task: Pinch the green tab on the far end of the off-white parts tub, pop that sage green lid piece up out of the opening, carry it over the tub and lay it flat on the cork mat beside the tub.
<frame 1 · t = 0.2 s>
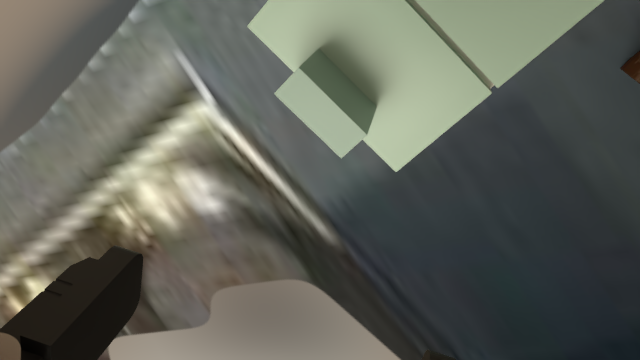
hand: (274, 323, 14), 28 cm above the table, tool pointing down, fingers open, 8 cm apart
lid piece: (370, 52, 31), point 6 cm above the table, touching parts tub
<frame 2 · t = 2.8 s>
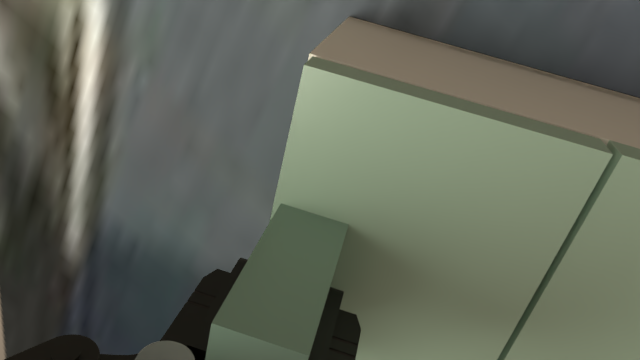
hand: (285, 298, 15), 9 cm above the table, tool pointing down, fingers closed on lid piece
parts tub: (487, 215, 22), on the table
lid piece: (384, 273, 17), point 6 cm above the table, touching gripper
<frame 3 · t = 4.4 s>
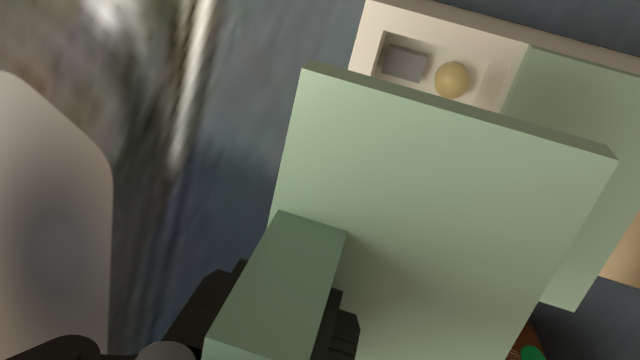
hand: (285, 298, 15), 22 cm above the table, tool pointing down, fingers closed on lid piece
parts tub: (469, 120, 33), on the table
lid piece: (383, 279, 16), point 19 cm above the table, touching gripper
food container: (513, 348, 40), on the table
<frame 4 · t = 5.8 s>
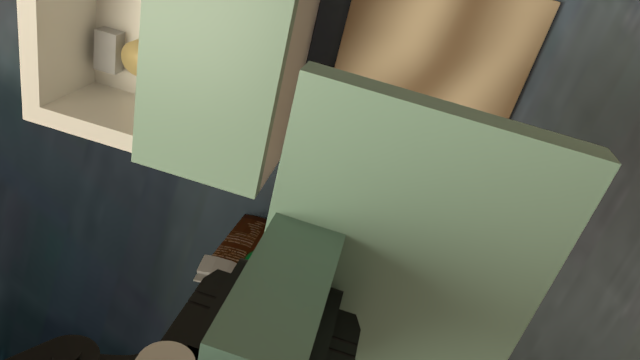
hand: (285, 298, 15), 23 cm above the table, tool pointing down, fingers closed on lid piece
parts tub: (195, 33, 35), on the table
cork mat: (418, 98, 34), on the table
lid piece: (382, 283, 16), point 20 cm above the table, touching gripper
food container: (285, 263, 43), on the table
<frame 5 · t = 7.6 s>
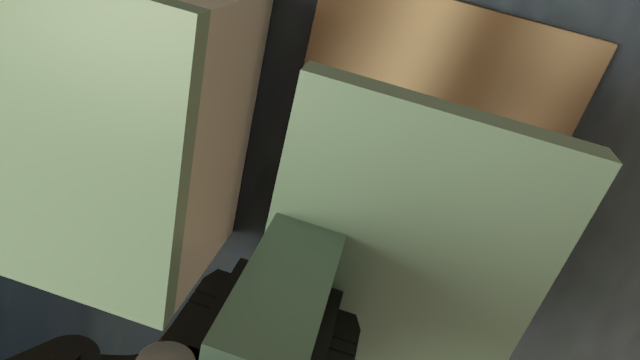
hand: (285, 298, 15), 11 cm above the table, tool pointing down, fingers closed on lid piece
parts tub: (102, 80, 26), on the table
cork mat: (407, 172, 24), on the table
lid piece: (383, 283, 16), point 9 cm above the table, touching gripper
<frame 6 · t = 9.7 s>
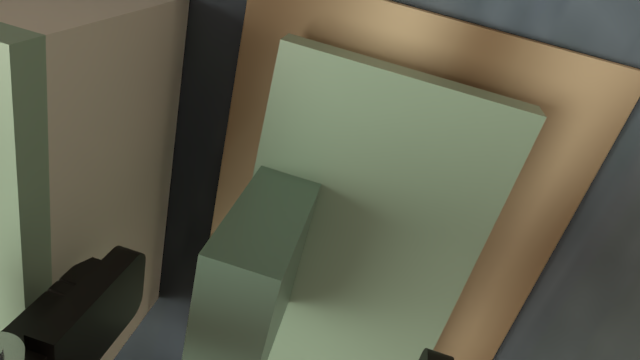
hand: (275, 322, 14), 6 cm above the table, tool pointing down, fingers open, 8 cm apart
cork mat: (373, 232, 19), on the table
lid piece: (355, 233, 18), resting on cork mat
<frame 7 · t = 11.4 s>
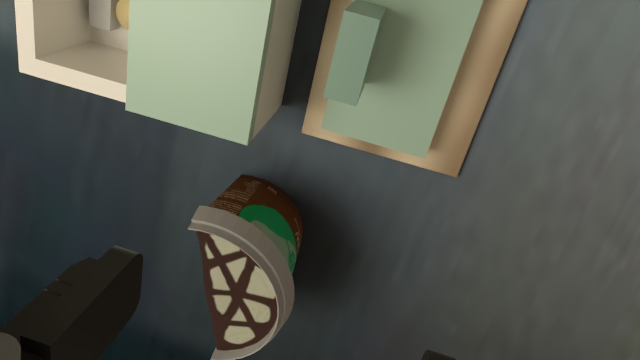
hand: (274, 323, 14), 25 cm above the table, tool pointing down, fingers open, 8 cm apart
cork mat: (410, 48, 34), on the table
lid piece: (401, 48, 34), resting on cork mat
food container: (282, 225, 43), on the table
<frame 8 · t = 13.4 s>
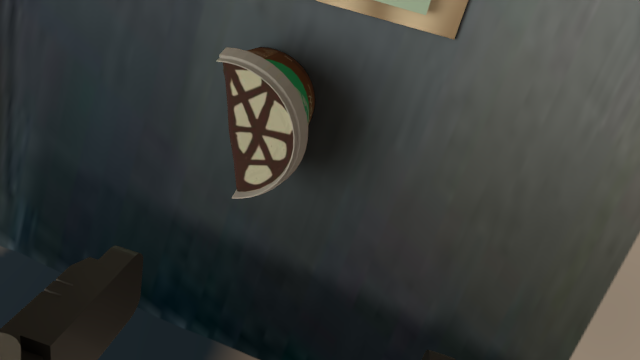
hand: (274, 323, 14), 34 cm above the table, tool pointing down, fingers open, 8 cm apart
food container: (295, 97, 47), on the table
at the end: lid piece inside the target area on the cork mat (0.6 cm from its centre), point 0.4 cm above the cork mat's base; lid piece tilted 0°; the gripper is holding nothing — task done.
